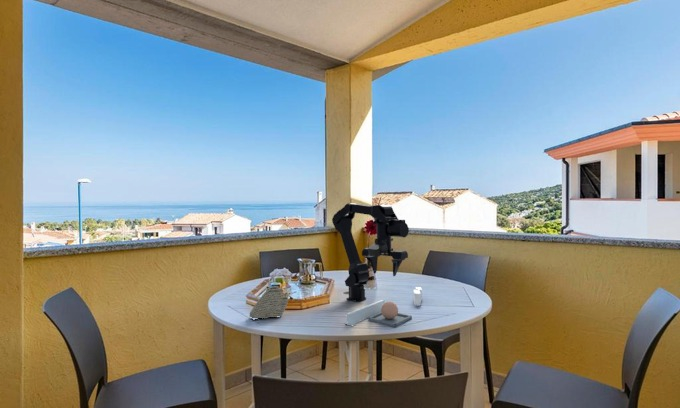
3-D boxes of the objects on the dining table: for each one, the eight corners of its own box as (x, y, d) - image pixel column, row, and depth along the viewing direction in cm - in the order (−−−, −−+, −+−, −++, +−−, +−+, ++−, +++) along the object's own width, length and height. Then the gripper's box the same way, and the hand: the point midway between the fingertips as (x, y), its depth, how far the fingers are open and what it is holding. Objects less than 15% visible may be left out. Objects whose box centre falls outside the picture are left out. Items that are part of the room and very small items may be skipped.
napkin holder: (420, 309, 141) (420, 294, 141) (397, 303, 149) (397, 290, 149) (440, 301, 151) (440, 288, 151) (417, 296, 159) (417, 284, 159)
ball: (378, 319, 127) (377, 302, 127) (387, 315, 131) (386, 299, 131) (392, 322, 123) (392, 305, 123) (401, 318, 127) (400, 301, 128)
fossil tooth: (249, 320, 132) (288, 311, 138) (252, 324, 127) (292, 315, 133) (245, 289, 132) (284, 282, 138) (248, 292, 127) (289, 284, 133)
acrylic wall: (344, 324, 123) (344, 313, 123) (380, 309, 139) (380, 299, 139) (351, 326, 121) (351, 314, 121) (386, 310, 137) (386, 300, 137)
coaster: (368, 320, 126) (368, 317, 126) (385, 312, 135) (385, 310, 135) (395, 327, 119) (395, 324, 119) (411, 318, 128) (411, 315, 128)
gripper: (353, 236, 143) (353, 275, 143) (393, 238, 131) (393, 281, 131) (369, 234, 151) (370, 270, 151) (408, 236, 139) (408, 276, 139)
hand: (384, 274), depth 143 cm, fingers open, 9 cm apart
